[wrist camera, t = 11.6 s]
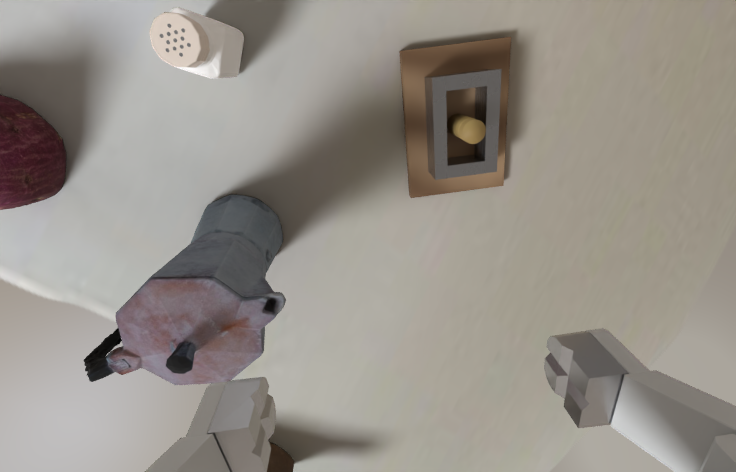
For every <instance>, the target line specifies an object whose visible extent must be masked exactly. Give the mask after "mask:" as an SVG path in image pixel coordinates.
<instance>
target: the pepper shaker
mask: <svg viewBox="0 0 736 472" xmlns="http://www.w3.org/2000/svg"><path fill="white" fill-rule="evenodd" d="M149 32H150V38H151V43H152V47H153V48H154V50H155V51H156V53H157V54H158V55H159V57H160V58H161V59H162V60H163V61H165V62H167V63H168V64H170V65H172V66H173V67H177V68H179V69H182V70H185V71H188V72H191V73H195V74H198V75H201V76H205V77H208V78H211V79H215V78H232V77H237V75H238V73H239V69H240V63H241V56H242V49H243V43H244V36H243V33H242V32H241V31H240V30H239V29H237V28H234V27H232V26H230V25H227V24H225V23H222V22H220V21H217V20H214V19H211V18H209V17H206V16H203V15H200V14H197V13H194V12H191V11H189V10H186V9H183V8H180V7H176V8H172V10H171V11H170V12H164V13H162V14H161V15H159V16H158V17H156V18H155V19H154V20H153V23H152V26H151V29H150V31H149Z"/></svg>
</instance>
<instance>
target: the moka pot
mask: <svg viewBox="0 0 736 472" xmlns="http://www.w3.org/2000/svg"><path fill="white" fill-rule="evenodd" d="M282 242H283V234H282V228H281V224H280V221H279V218H278V216H277V215H276V214H275V213H274V212H273V211H272V210H271V209H270V208H269V207H268V206H267V205H266V204H264V203H263V202H262V201H260V200H258V199H255V198H252V197H248V196H243V195H228V196H226V197H223V198H221V199H219V200H217V201H214V202H212V203H211V204H209V205H208V206H207V207H206V209H205V211H204V213H203V215H202V218H201V220H200V222H199V224H198V226H197V229H196V231H195V234H194V236H193V239H192V241H191V244H190V245H188V246H187V247H186V248H185V249H184V250H182V251H181V252H180V253H179V254H178V255H177V256H175V257H174V258H173V259H172V260H170V261H169V262H168V263H167V264H166V265H165V266H163V267H162V268H161V269H160V270H159V271H157V272H156V273H155V274H154V275H152V276H151V277H150V278H149V279H148V280H147V281H146V282H145V283H144V284H143V285H142V287H141V288H140V289H139V290H138V291H137V292H136V293H135V294H134V295H133V296H132V297H131V298H130V299H129V300H128V301H127V302H126V303H125V304H124V305H123V306H122V307H121V308H120V309H119V310H118V311H117V313H116V322H117V325H118V329H116V331H114V333H113V334H110V335H109V336H108V337H107V338H105V339H104V341H103V342H102V343H101V344H100V345H99V346H98V347H97V348H95V349H94V350H93V351H92V352H91V353H90V354H89V355H88V356H87V357H86V358H85V359H84V362H85V366H86V369H85V371H88V373H87V375H88V377H89V380H90V381H92V382H93V381H96V380H99V379H101V378H104V377H106V376H108V375H110V374H112V373H114V372H117V373H119V374H121V375H123V374H126V373H129V372H132V371H134V370H137V369H139V368H143V369H146V370H148V371H150V372H152V373H154V374H156V375H157V376H159V377H161V378H163V379H165V380H167V381H169V382H170V383H172V384H175V385H188V384H207V383H218V382H226V381H230V380H232V379H233V378H234V377H235V376H236V375H237V374H239V373H240V372H241V371H242V370H243V369H245V368H246V367H247V366H248V365H250V364H251V363H252V362H253V361H255V360H256V359H257V358H259V357H260V356H261V354H262V353H263V351H264V336H265V326H266V325H267V324H268V323H269V322H271V321H272V320H273V319H274V318H275V317H276V315H277V314H278V313H279V312H280V311H281V310H282V308H283V307H284V305H285V302H286V299H285V297H284V295H283V294H282V293H280V292H274V291H273V290H272V289H271V287H270V285H269V284H268V282H267V281H266V280H265V276H266V272H267V271H268V269H269V267H270V265H271V263H272V261H273V259H274V257H275V255H276V254H277V252H278V250H279V248H280V246H281V244H282ZM121 338H122V339H121ZM121 341H122V343H123V346H122V347H119V348H116V349H115V350H113V351H111V350H112V349H113V348H114V347H115V346H116V345H118V344H120V342H121ZM110 351H111V352H110ZM108 352H110V353H109V354H108V355H107V353H108ZM106 355H107V356H106ZM105 356H106V357H105Z"/></svg>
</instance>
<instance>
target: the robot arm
mask: <svg viewBox="0 0 736 472" xmlns="http://www.w3.org/2000/svg"><path fill="white" fill-rule="evenodd" d="M547 348H548V350H549V351H550V352H551V353H550V354H549V355H548V356H547V357H546V358H545V364H544V369H545V374H546V378H547V380H548V382H549V385H550V386H551V388H552V389H553V391H554V392H555V393H556V394H558V395H559V396H561V397H563V398H564V399H565V400H564V408H565V409H566V410H567V412H568V413H569V415H570V416H571V418H572V419H573V421H574V422H575V424H576V425H577V427H578V428H585V427H593V426H602V425H611V427H612V428H614V429H615V430H617V431H618V432H620V433H621V434H622V435H624V436H625V437H626V438H628V439H629V440H631V441H632V442H633V443H635V444H636V445H638V446H639V447H640V448H642V449H643V450H645V451H646V452H648V453H649V454H650V455H652V456H653V457H654V458H656V459H657V460H659V461H660V462H662V463H663V464H664V465H666V466H667V467H669V468H670V469H671V470H673V471H674V472H736V406H734V405H732V404H730V403H728V402H725V401H723V400H721V399H719V398H717V397H714V396H712V395H710V394H708V393H705V392H703V391H701V390H699V389H696V388H694V387H692V386H690V385H688V384H685V383H683V382H681V381H678V380H676V379H674V378H672V377H670V376H667V375H665V374H663V373H661V372H658V371H650V370H649V369H648V368H647V367H646V366H644V365H643V364H642V363H641V362H640V361H639V360H638V359H637V358H636V357H635V356H634V355H633V354H632V353H631V352H630V351H629V350H628V349H627V348H626V347H625V346H624V345H623V344H622V343H621V342H619V341H618V340H617V339H616V338H615V337H614V336H613V335H612V334H611V333H610V332H609V331H608V330H606V329H604V328H601V329H595V330H588V331H581V332H575V333H568V334H562V335H555V336H550V337H549V339H548V341H547ZM268 388H269V385H268V382H267V379H266V378H265V377H258V378H249V379H240V380H232V381H226V382H218V383H211V384H210V385H209V386H208V387H207V388H206V390H205V393H204V395H203V398H202V400H201V402H200V405H199V407H198V409H197V412H196V414H195V416H194V419H193V421H192V423H191V426H190V428H189V430H188V433H187V435H186V437H184V438H180V439H179V440H178V441H177V442H175V443H174V445H172V446H171V447H170V448H169V449H168V450H167V451H166V452H165V453H164V454H163V455H162V456H161V457H160V458H159V459H158V460H156V461H155V462H154V463H153V464H152V465H151V466H150V467H149V468H148V469H147V470H146V471H145V472H267V468H268V463H269V457H270V452H271V447H270V444H269V441H268V439H269V438H270V437H271V436H272V435H273V433H274V430H275V424H276V409H275V403H274V400H273V397H272V396H270V395H269V394H267V393H268Z"/></svg>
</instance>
